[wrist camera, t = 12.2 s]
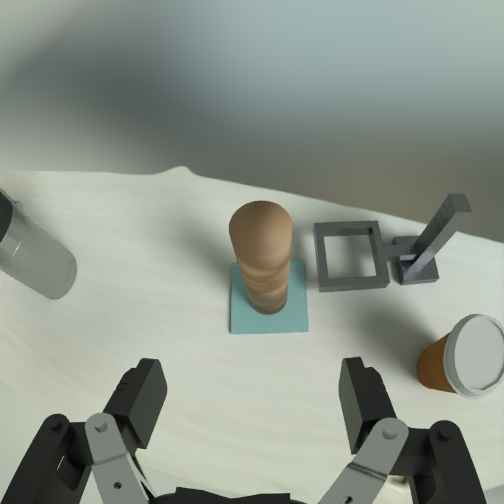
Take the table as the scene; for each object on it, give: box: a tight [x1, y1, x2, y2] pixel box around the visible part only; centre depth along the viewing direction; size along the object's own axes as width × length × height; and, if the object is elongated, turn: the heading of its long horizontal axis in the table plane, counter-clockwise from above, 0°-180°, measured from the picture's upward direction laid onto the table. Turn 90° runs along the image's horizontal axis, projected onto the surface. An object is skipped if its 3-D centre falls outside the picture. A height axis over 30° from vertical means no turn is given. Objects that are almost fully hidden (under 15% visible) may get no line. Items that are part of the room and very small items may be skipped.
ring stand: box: [313, 194, 472, 292], centre depth 34 cm, size 18×9×16 cm, turn 91°
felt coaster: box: [231, 260, 308, 334], centre depth 40 cm, size 10×10×1 cm
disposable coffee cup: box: [417, 314, 504, 399], centre depth 28 cm, size 10×10×12 cm
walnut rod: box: [229, 201, 292, 315], centre depth 32 cm, size 5×5×18 cm
